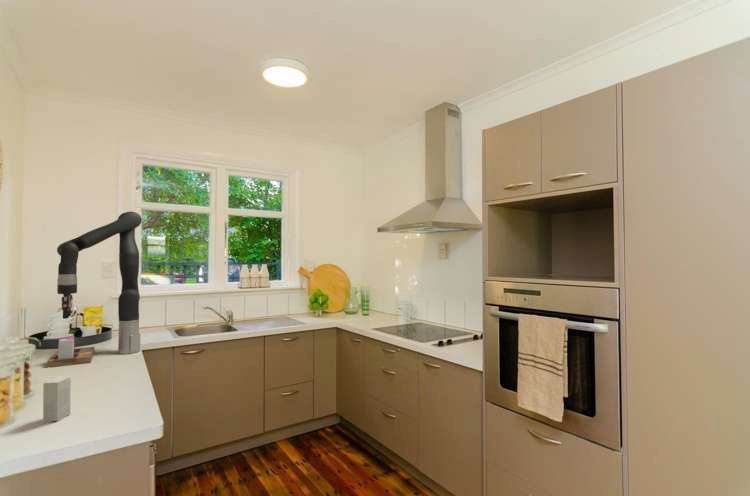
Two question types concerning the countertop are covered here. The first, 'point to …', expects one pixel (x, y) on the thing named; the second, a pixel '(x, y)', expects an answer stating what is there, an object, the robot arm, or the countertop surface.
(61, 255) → the robot arm
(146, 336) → the countertop surface
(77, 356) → the socket block
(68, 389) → the skincare box
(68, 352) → the supplement box
